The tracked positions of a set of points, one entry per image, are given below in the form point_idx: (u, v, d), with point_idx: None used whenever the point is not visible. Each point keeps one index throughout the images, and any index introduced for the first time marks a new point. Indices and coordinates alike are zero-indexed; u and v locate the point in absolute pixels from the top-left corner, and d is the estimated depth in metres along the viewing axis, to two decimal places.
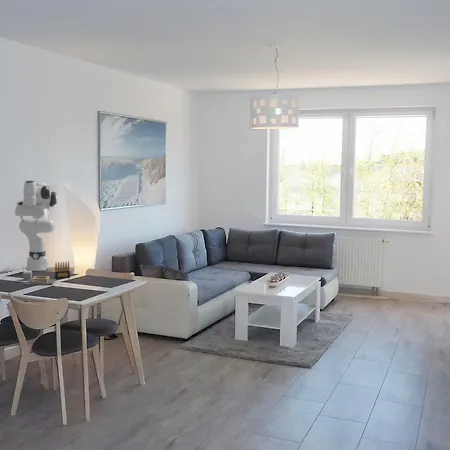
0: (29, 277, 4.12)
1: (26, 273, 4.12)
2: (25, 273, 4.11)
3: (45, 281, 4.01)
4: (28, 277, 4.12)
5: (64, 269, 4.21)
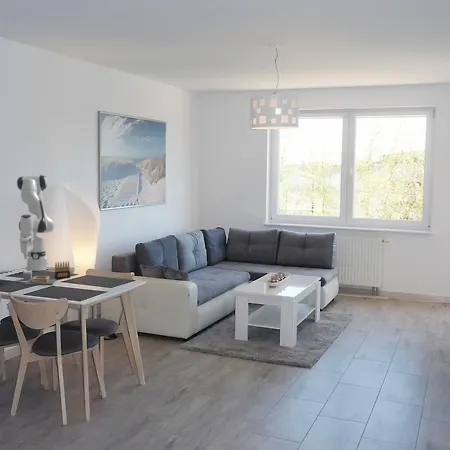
0: (29, 277, 4.12)
1: (26, 273, 4.12)
2: (25, 273, 4.11)
3: (45, 281, 4.01)
4: (28, 277, 4.12)
5: (64, 269, 4.21)
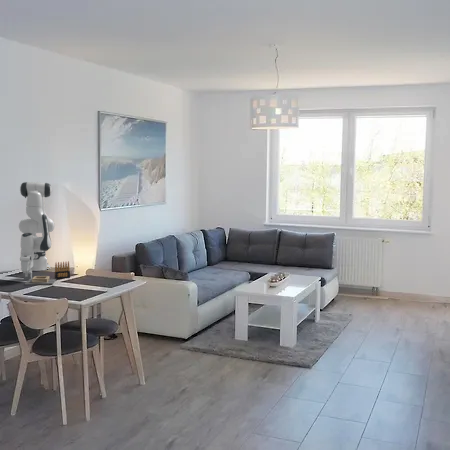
0: (29, 277, 4.12)
1: None
2: None
3: (45, 281, 4.01)
4: (28, 277, 4.12)
5: (64, 269, 4.21)
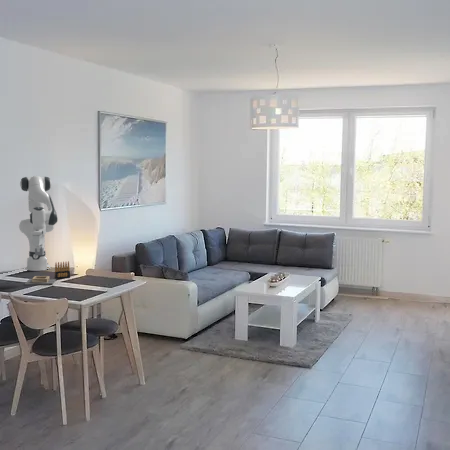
0: (41, 252, 4.01)
1: None
2: None
3: (45, 281, 4.01)
4: (40, 252, 4.01)
5: (64, 269, 4.21)
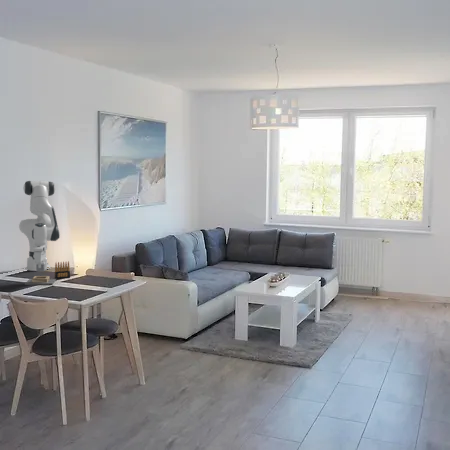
0: (42, 268, 4.02)
1: None
2: None
3: (45, 281, 4.01)
4: (41, 268, 4.02)
5: (64, 269, 4.21)
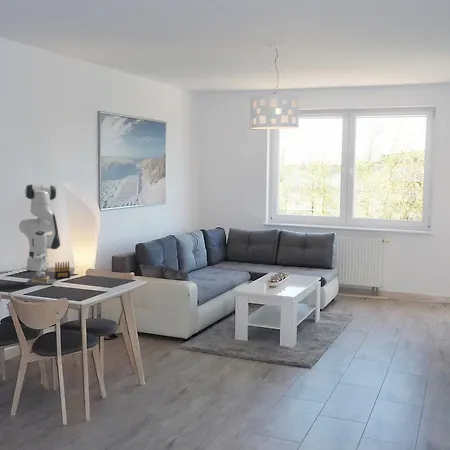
0: None
1: None
2: None
3: (45, 281, 4.01)
4: None
5: (64, 269, 4.21)
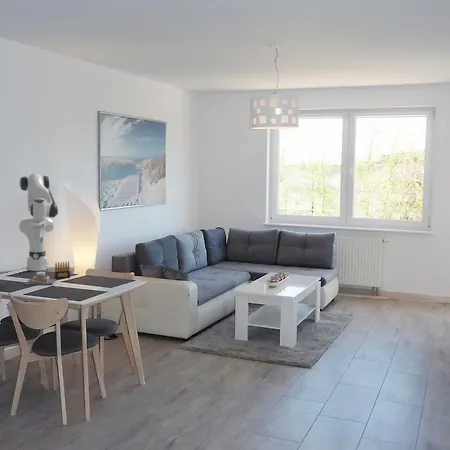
0: None
1: (39, 274, 4.03)
2: (38, 274, 4.03)
3: (45, 281, 4.01)
4: None
5: (64, 269, 4.21)
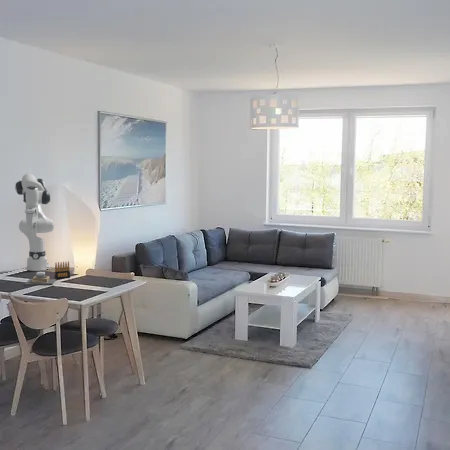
0: None
1: (39, 274, 4.03)
2: (38, 274, 4.03)
3: (45, 281, 4.01)
4: None
5: (64, 269, 4.21)
